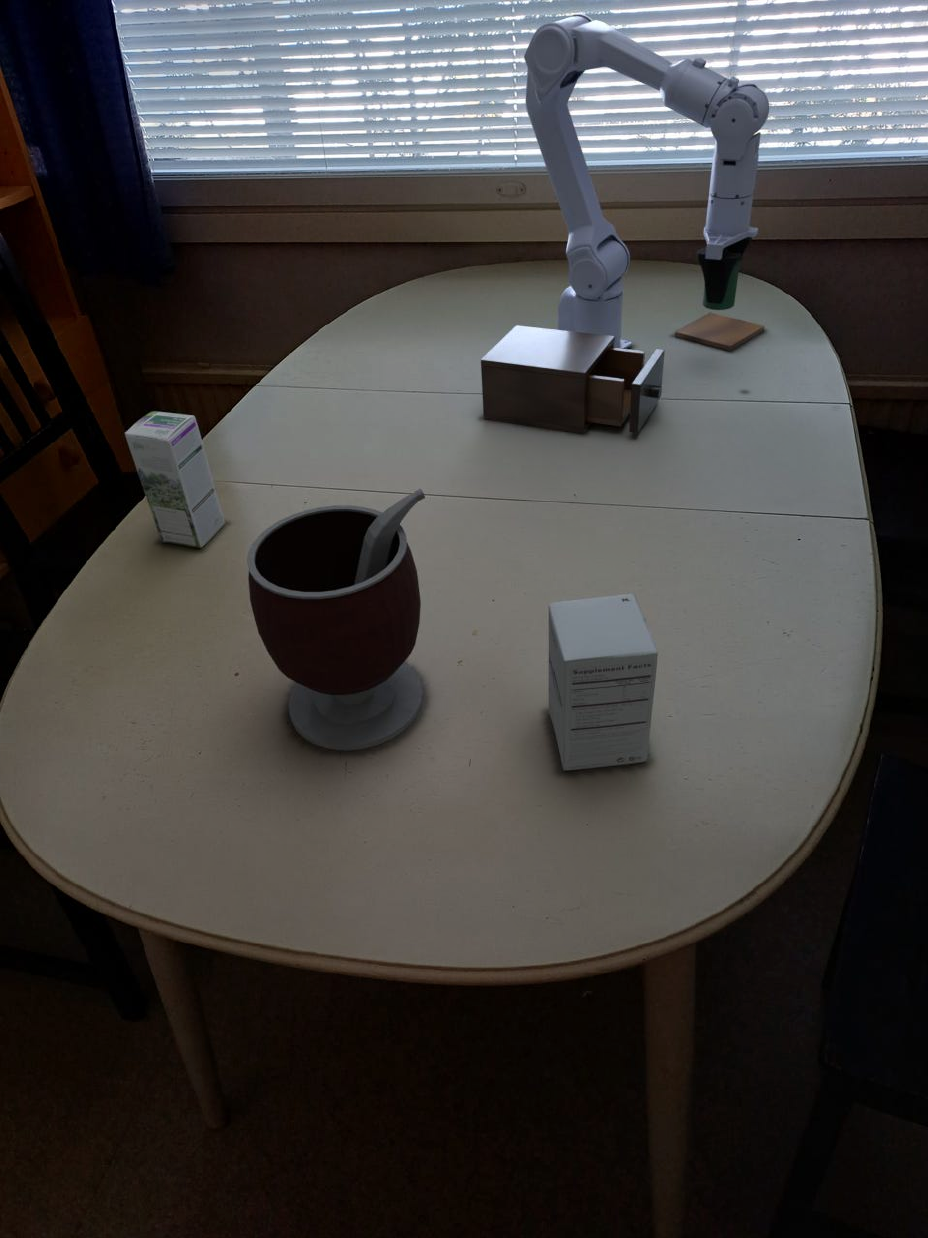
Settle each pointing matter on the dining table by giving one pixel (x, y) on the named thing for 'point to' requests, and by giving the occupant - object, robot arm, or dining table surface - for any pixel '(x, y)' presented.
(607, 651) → the white packaging box
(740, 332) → the board
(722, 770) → the dining table surface
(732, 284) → the green pot
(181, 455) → the syrup box
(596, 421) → the drawer
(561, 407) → the small wooden cabinet
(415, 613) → the mate gourd
